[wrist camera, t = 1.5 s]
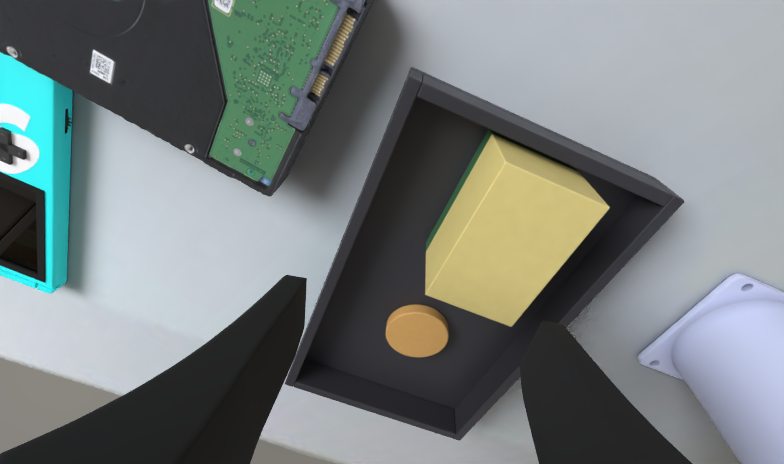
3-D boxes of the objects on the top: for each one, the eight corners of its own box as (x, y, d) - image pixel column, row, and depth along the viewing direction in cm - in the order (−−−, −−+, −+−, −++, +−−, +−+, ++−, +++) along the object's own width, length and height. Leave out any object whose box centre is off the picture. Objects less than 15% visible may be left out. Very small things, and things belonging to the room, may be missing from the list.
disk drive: (1, 19, 18) (290, 179, 20) (-67, 21, 15) (271, 203, 18) (2, -288, 13) (385, -20, 15) (-100, -357, 10) (376, -24, 13)
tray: (655, 177, 19) (686, 201, 16) (457, 408, 29) (459, 441, 27) (411, 66, 17) (408, 76, 15) (295, 353, 28) (284, 384, 26)
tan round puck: (459, 317, 24) (460, 326, 23) (431, 355, 26) (431, 365, 25) (400, 295, 23) (399, 304, 23) (377, 336, 25) (376, 345, 25)
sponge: (572, 164, 18) (610, 207, 14) (497, 270, 22) (511, 327, 18) (488, 127, 18) (505, 161, 14) (425, 241, 21) (424, 295, 17)
